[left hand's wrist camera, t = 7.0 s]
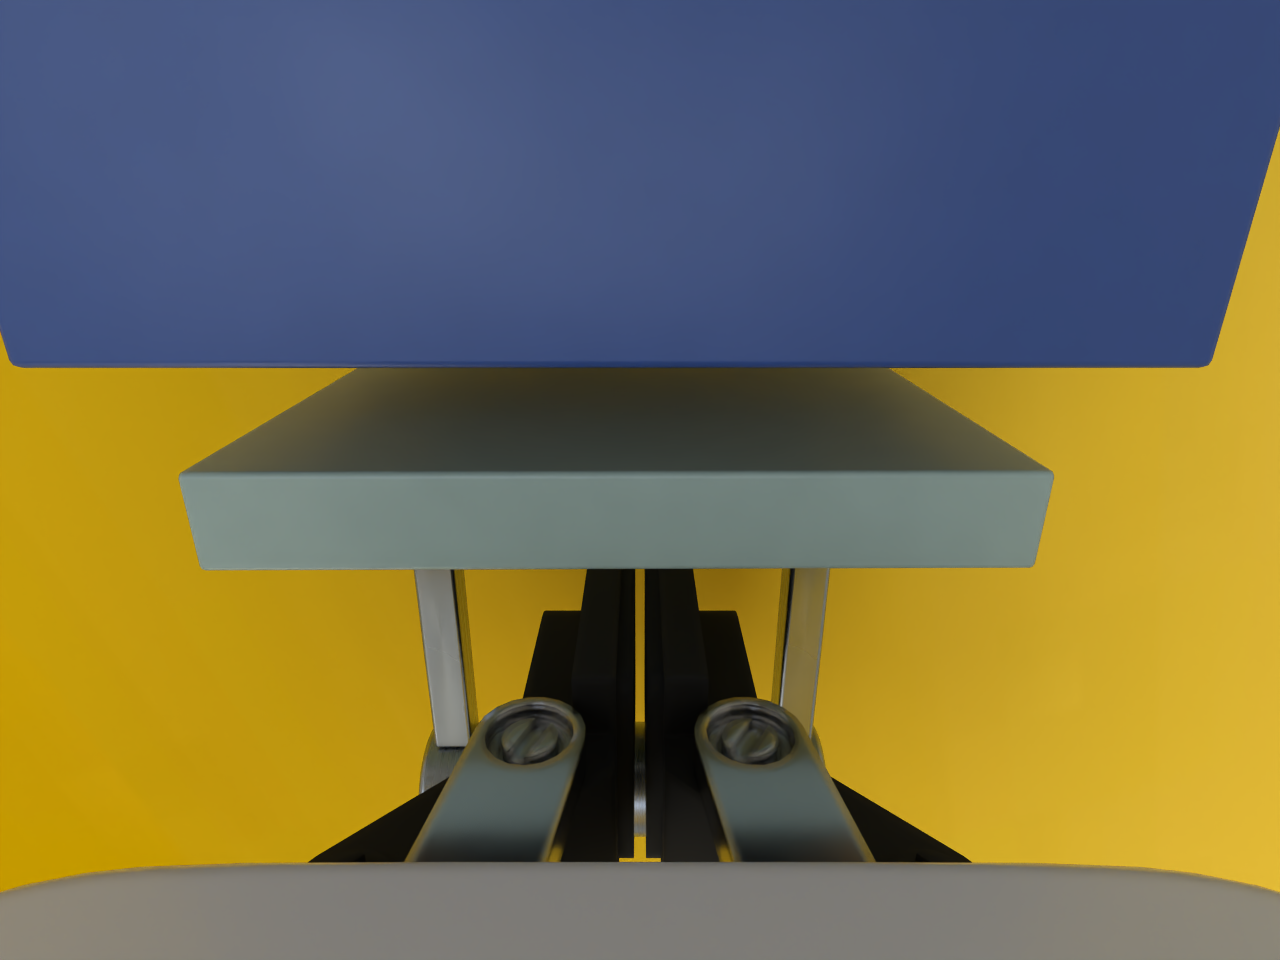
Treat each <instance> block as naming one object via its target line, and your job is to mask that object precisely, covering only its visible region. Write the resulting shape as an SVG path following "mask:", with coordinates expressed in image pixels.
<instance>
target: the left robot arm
mask: <svg viewBox="0 0 1280 960" xmlns="http://www.w3.org/2000/svg"><path fill="white" fill-rule="evenodd" d="M634 788H635V569H587V573H586V580H585V587H584V594H583V601H582V608H581V611H544V613H543V616H542V620H541V624H540V628H539V632H538V637H537V641H536V645H535V649H534V654H533V658H532V662H531V666H530V670H529V675H528V679H527V683H526V687H525V691H524V696H523V699H518V700H513V701H510V702H508V703H505V704H503V705H501V706H498V707H496V708H495V709H494V710H492V711H491V712H490V713H488V714H487V715H485V716H484V718H483V719H482V720H481V721H480V723H479V724H478V725H477V727H476V728H475V730H474V732H473V734H472V736H471V737H470V739H469V741H468V743H467V745H466V747H465V749H464V751H463V752H462V754H461V756H460V758H459V760H458V762H457V764H456V766H455V767H454V769H453V771H452V773H451V775H450V777H448V778H446V779H445V780H443V781H441V782H440V783H438V784H436V785H435V786H433V787H431V788H430V789H428V790H426V791H425V792H423V793H421V794H420V795H418V796H416V797H415V798H413V799H411V800H410V801H408V802H406V803H405V804H403V805H401V806H399V807H398V808H396V809H394V810H393V811H391V812H389V813H388V814H386V815H384V816H383V817H381V818H379V819H378V820H376V821H374V822H373V823H371V824H369V825H368V826H366V827H364V828H363V829H361V830H359V831H358V832H356V833H354V834H353V835H351V836H349V837H348V838H346V839H344V840H343V841H341V842H339V843H338V844H336V845H334V846H333V847H331V848H329V849H328V850H326V851H324V852H323V853H321V854H319V855H318V856H316V857H315V858H313V859H312V860H310V861H309V862H308V863H233V864H206V865H180V866H154V867H136V868H127V869H118V870H109V871H100V872H91V873H83V874H78V875H73V876H68V877H63V878H58V879H53V880H48V881H43V882H38V883H33V884H28V885H23V886H20V887H16V888H13V889H9V890H6V891H3V892H0V960H1280V892H1277V891H1274V890H1271V889H1267V888H1264V887H1260V886H1257V885H1252V884H1247V883H1242V882H1237V881H1232V880H1227V879H1222V878H1217V877H1212V876H1207V875H1202V874H1197V873H1189V872H1180V871H1171V870H1162V869H1153V868H1144V867H1126V866H1100V865H1074V864H1047V863H972V862H971V861H969V860H968V859H967V858H965V857H964V856H962V855H961V854H959V853H957V852H956V851H954V850H952V849H951V848H949V847H947V846H946V845H944V844H942V843H941V842H939V841H937V840H936V839H934V838H932V837H931V836H929V835H927V834H926V833H924V832H922V831H921V830H919V829H917V828H916V827H914V826H912V825H911V824H909V823H907V822H906V821H904V820H902V819H901V818H899V817H897V816H896V815H894V814H892V813H890V812H889V811H887V810H885V809H884V808H882V807H880V806H879V805H877V804H875V803H874V802H872V801H870V800H869V799H867V798H865V797H864V796H862V795H860V794H859V793H857V792H855V791H854V790H852V789H850V788H849V787H847V786H845V785H844V784H842V783H840V782H839V781H837V780H835V779H834V778H832V777H830V775H829V773H828V771H827V769H826V767H825V766H824V764H823V762H822V760H821V758H820V756H819V754H818V752H817V751H816V749H815V747H814V745H813V743H812V741H811V739H810V737H809V736H808V734H807V732H806V730H805V728H804V727H803V725H802V724H801V723H800V721H799V720H798V719H797V718H796V716H795V715H793V714H792V713H790V712H789V711H788V710H786V709H785V708H784V707H782V706H779V705H777V704H775V703H772V702H770V701H767V700H762V699H757V696H756V692H755V687H754V683H753V679H752V675H751V671H750V666H749V662H748V658H747V654H746V650H745V645H744V641H743V637H742V633H741V628H740V624H739V620H738V616H737V613H736V611H699V608H698V601H697V594H696V588H695V581H694V574H693V569H645V793H646V858H661V862H619V858H634Z"/></svg>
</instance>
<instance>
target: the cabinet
mask: <svg viewBox="0 0 1280 960" xmlns="http://www.w3.org/2000/svg"><path fill="white" fill-rule="evenodd" d="M1279 127H1280V0H0V332H1V335H2V338H3V341H4V344H5V348H6V351H7V354H8V357H9V360H10V361H11V363H12V364H13V365H15V366H18V367H22V368H1199V367H1204V366H1207V365H1209V363H1210V362H1211V361H1212V358H1213V355H1214V351H1215V348H1216V344H1217V341H1218V337H1219V334H1220V330H1221V327H1222V324H1223V320H1224V317H1225V313H1226V310H1227V306H1228V303H1229V299H1230V296H1231V293H1232V289H1233V286H1234V282H1235V279H1236V275H1237V272H1238V268H1239V265H1240V262H1241V258H1242V255H1243V251H1244V248H1245V244H1246V241H1247V237H1248V234H1249V231H1250V227H1251V224H1252V220H1253V217H1254V213H1255V210H1256V206H1257V203H1258V200H1259V196H1260V193H1261V189H1262V186H1263V182H1264V179H1265V175H1266V172H1267V169H1268V165H1269V162H1270V158H1271V155H1272V151H1273V148H1274V144H1275V141H1276V138H1277V134H1278V131H1279Z"/></svg>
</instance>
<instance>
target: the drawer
mask: <svg viewBox="0 0 1280 960" xmlns="http://www.w3.org/2000/svg"><path fill="white" fill-rule="evenodd" d="M1053 479H1054V475H1053V472H1052V471H1051V470H1049V469H1048V468H1046V467H1044V466H1043V465H1041V464H1040V463H1038V462H1037V461H1035V460H1033V459H1032V458H1030V457H1029V456H1027V455H1025V454H1024V453H1022V452H1021V451H1019V450H1017V449H1016V448H1014V447H1013V446H1011V445H1010V444H1008V443H1006V442H1005V441H1003V440H1002V439H1000V438H998V437H997V436H995V435H994V434H992V433H991V432H989V431H987V430H986V429H984V428H983V427H981V426H979V425H978V424H976V423H975V422H973V421H971V420H970V419H968V418H967V417H965V416H964V415H962V414H960V413H959V412H957V411H956V410H954V409H952V408H951V407H949V406H948V405H946V404H945V403H943V402H941V401H940V400H938V399H937V398H935V397H933V396H932V395H930V394H929V393H927V392H926V391H924V390H922V389H921V388H919V387H918V386H916V385H914V384H913V383H911V382H910V381H908V380H906V379H905V378H903V377H902V376H900V375H899V374H897V373H895V372H894V371H892V370H891V369H889V368H357V369H355V370H354V371H352V372H350V373H349V374H347V375H345V376H344V377H342V378H340V379H338V380H337V381H335V382H333V383H332V384H330V385H328V386H327V387H325V388H323V389H322V390H320V391H318V392H316V393H315V394H313V395H311V396H310V397H308V398H306V399H305V400H303V401H301V402H300V403H298V404H296V405H294V406H293V407H291V408H289V409H288V410H286V411H284V412H283V413H281V414H279V415H278V416H276V417H274V418H272V419H271V420H269V421H267V422H266V423H264V424H262V425H261V426H259V427H257V428H256V429H254V430H252V431H251V432H249V433H247V434H245V435H244V436H242V437H240V438H239V439H237V440H235V441H234V442H232V443H230V444H229V445H227V446H225V447H223V448H222V449H220V450H218V451H217V452H215V453H213V454H212V455H210V456H208V457H207V458H205V459H203V460H201V461H200V462H198V463H196V464H195V465H193V466H191V467H190V468H188V469H186V470H185V471H183V472H181V473H180V475H179V482H180V486H181V490H182V494H183V498H184V503H185V507H186V511H187V515H188V519H189V523H190V527H191V531H192V535H193V539H194V543H195V548H196V552H197V556H198V560H199V564H200V567H201V568H202V569H204V570H403V569H414V576H415V584H416V592H417V600H418V608H419V616H420V624H421V632H422V640H423V648H424V656H425V664H426V672H427V680H428V688H429V696H430V704H431V712H432V720H433V728H434V729H433V731H432V733H431V735H430V737H429V740H428V742H427V745H426V749H425V752H424V756H423V761H422V767H421V774H420V783H419V795H420V794H421V793H423V792H425V791H426V790H428V789H430V788H431V787H433V786H435V785H436V784H438V783H440V782H441V781H443V780H445V779H446V778H448V777H450V775H451V773H452V771H453V769H454V767H455V766H456V764H457V762H458V760H459V758H460V756H461V754H462V752H463V751H464V749H465V747H466V745H467V743H468V741H469V739H470V737H471V736H472V734H473V732H474V730H475V728H476V727H477V725H478V724H479V723H478V712H477V702H476V692H475V681H474V671H473V661H472V650H471V640H470V630H469V619H468V609H467V599H466V588H465V578H464V569H718V568H782V577H781V589H780V601H779V613H778V625H777V637H776V649H775V662H774V674H773V686H772V698H771V702H772V703H775V704H777V705H779V706H782V707H784V708H785V709H786V710H788V711H789V712H790V713H792V714H793V715H795V716H796V718H797V719H798V720H799V721H800V723H801V724H802V725H803V727H804V728H805V730H806V732H807V734H808V736H809V737H810V739H811V741H812V743H813V745H814V747H815V749H816V751H817V752H818V754H819V756H820V758H821V760H822V762H823V764H824V766H825V760H824V755H823V750H822V746H821V743H820V739H819V737H818V734H817V732H816V730H815V728H814V726H813V720H814V711H815V702H816V693H817V684H818V675H819V665H820V656H821V647H822V638H823V629H824V620H825V611H826V602H827V592H828V583H829V574H830V568H1029V567H1032V566H1033V565H1034V564H1035V560H1036V555H1037V551H1038V546H1039V542H1040V537H1041V533H1042V528H1043V524H1044V520H1045V515H1046V511H1047V506H1048V502H1049V497H1050V493H1051V488H1052V484H1053ZM634 837H646V793H645V722H635V788H634Z"/></svg>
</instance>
